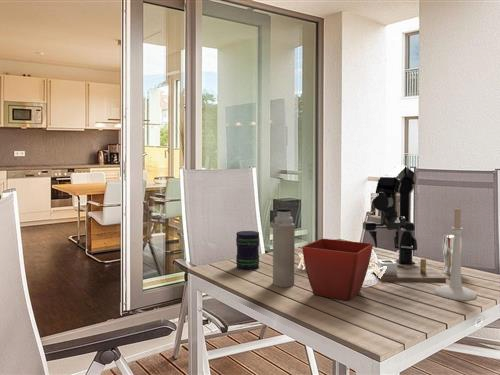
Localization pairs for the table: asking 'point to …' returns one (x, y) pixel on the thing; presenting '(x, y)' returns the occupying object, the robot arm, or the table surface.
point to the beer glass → (449, 252)
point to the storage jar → (247, 250)
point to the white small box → (388, 266)
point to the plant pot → (336, 267)
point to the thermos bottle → (283, 249)
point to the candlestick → (456, 268)
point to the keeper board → (415, 275)
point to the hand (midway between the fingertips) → (387, 247)
